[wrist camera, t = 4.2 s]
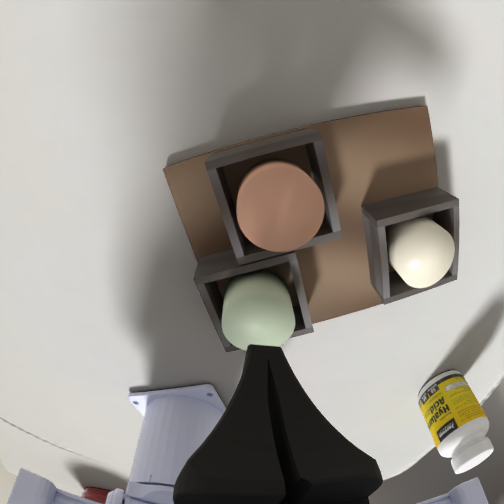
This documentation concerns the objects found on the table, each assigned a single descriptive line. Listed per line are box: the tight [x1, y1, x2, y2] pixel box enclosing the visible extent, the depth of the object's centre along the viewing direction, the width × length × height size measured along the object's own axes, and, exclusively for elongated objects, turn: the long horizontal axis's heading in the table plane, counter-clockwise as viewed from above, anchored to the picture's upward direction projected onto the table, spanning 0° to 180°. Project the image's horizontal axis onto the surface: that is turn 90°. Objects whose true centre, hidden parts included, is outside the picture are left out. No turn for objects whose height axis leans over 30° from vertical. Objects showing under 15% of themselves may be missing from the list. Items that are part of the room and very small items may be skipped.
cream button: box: [385, 215, 455, 288], centre depth 16 cm, size 4×4×3 cm
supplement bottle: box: [418, 370, 494, 474], centre depth 21 cm, size 5×5×10 cm
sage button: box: [222, 268, 295, 351], centre depth 16 cm, size 4×4×3 cm
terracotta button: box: [236, 158, 324, 252], centre depth 14 cm, size 4×4×3 cm
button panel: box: [163, 106, 459, 352], centre depth 17 cm, size 12×15×3 cm
